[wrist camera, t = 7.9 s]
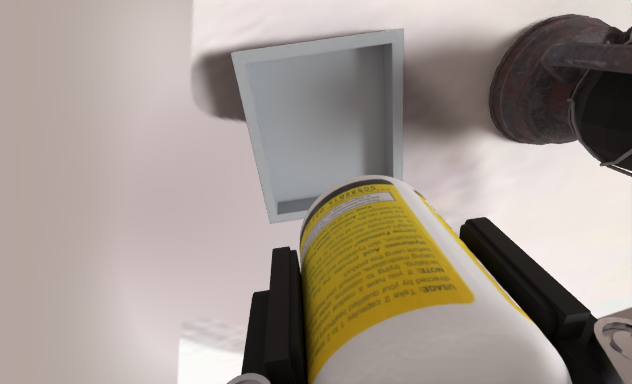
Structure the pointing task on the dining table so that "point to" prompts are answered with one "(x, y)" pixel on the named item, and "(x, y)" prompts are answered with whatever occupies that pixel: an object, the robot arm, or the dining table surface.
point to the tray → (322, 115)
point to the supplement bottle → (407, 298)
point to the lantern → (568, 88)
